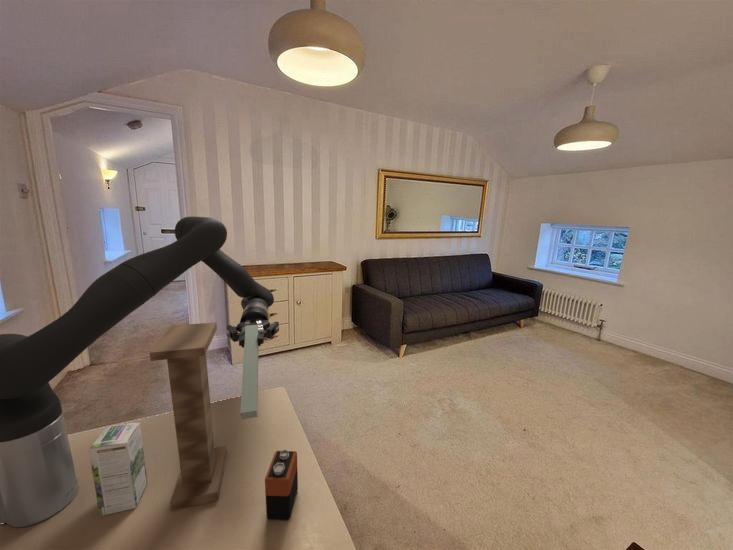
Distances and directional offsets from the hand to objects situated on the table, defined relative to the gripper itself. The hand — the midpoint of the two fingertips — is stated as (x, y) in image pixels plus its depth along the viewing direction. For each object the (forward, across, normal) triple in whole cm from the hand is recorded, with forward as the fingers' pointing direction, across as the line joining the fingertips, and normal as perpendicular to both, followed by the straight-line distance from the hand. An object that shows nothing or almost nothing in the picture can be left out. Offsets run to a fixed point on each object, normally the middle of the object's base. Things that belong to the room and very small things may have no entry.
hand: (251, 343), depth 72 cm
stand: (+12, -10, +24) cm, 29 cm away
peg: (+3, 0, +5) cm, 6 cm away
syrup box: (+13, -23, +24) cm, 36 cm away
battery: (+22, +6, +24) cm, 33 cm away
